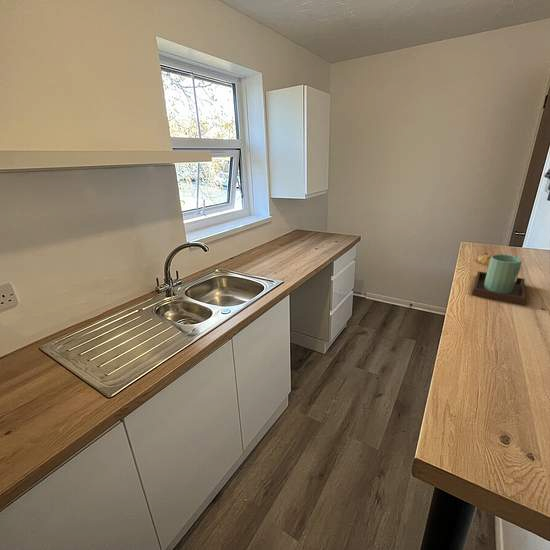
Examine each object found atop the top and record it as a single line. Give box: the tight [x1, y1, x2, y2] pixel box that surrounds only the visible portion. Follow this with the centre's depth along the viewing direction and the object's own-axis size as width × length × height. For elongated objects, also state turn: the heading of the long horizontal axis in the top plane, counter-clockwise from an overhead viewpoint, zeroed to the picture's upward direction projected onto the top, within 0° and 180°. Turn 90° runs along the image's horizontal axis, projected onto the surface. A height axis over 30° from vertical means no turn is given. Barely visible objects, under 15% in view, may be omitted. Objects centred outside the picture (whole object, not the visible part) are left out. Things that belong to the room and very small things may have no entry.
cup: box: [484, 253, 523, 294], centre depth 100 cm, size 8×8×11 cm
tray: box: [471, 271, 527, 306], centre depth 102 cm, size 18×14×3 cm
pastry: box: [476, 252, 493, 266], centre depth 124 cm, size 9×7×4 cm
